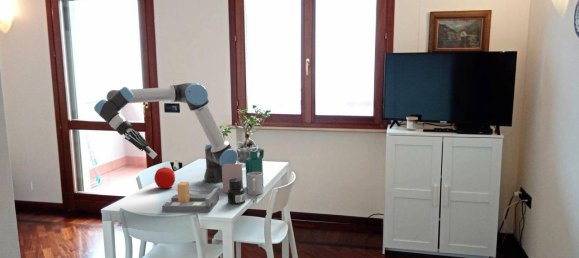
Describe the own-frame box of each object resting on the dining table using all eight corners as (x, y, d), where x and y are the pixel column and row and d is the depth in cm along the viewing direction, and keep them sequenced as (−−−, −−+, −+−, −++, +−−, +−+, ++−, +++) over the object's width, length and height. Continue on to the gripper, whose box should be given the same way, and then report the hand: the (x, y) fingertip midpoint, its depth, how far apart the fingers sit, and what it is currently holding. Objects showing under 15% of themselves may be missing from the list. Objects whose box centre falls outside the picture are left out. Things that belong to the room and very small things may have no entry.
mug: (248, 190, 260) (247, 171, 258) (263, 190, 260) (262, 171, 258) (246, 197, 248) (245, 177, 247) (261, 196, 248) (260, 176, 246)
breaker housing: (162, 212, 227) (161, 199, 226) (175, 199, 247) (174, 188, 246) (209, 212, 225) (209, 199, 224) (219, 199, 245) (218, 187, 244)
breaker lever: (178, 204, 233) (177, 184, 232) (182, 200, 239) (180, 181, 238) (186, 204, 233) (184, 184, 232) (189, 200, 239) (188, 181, 237)
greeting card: (243, 189, 263) (242, 163, 260) (238, 193, 256) (237, 166, 253) (225, 188, 266) (223, 163, 264) (219, 192, 259) (218, 166, 257)
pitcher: (251, 189, 262) (249, 151, 258) (245, 186, 269) (243, 149, 266) (266, 187, 266) (265, 149, 263) (260, 183, 274) (259, 147, 270)
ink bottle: (239, 205, 233) (238, 182, 232) (224, 204, 237) (223, 181, 235) (248, 200, 242) (247, 178, 240) (233, 198, 246) (232, 177, 244)
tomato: (167, 184, 279) (165, 164, 277) (180, 186, 273) (178, 166, 271) (150, 189, 269) (148, 168, 267) (163, 192, 263) (161, 170, 261)
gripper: (122, 128, 240) (155, 159, 241) (110, 132, 227) (145, 164, 228) (131, 117, 239) (164, 149, 240) (119, 121, 226) (155, 154, 227)
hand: (155, 156), depth 234 cm, fingers closed
